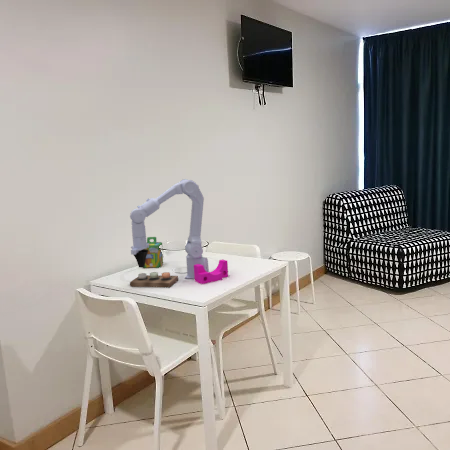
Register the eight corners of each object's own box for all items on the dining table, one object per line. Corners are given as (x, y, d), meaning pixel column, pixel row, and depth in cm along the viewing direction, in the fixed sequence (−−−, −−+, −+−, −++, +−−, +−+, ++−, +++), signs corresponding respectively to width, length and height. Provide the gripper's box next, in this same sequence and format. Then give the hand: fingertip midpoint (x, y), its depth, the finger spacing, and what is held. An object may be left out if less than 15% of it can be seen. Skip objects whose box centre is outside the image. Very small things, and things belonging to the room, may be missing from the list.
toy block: (201, 284, 189) (200, 267, 188) (194, 281, 194) (193, 265, 193) (231, 278, 197) (230, 261, 195) (223, 275, 202) (223, 259, 201)
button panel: (178, 280, 197) (178, 275, 196) (169, 287, 186) (169, 282, 186) (140, 279, 201) (140, 274, 201) (130, 286, 190) (129, 281, 190)
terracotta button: (171, 275, 193) (171, 272, 193) (168, 278, 190) (168, 274, 189) (163, 275, 194) (163, 272, 194) (160, 278, 191) (160, 274, 190)
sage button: (159, 275, 194) (159, 272, 194) (156, 277, 191) (156, 274, 191) (151, 275, 195) (151, 272, 195) (148, 277, 192) (148, 274, 192)
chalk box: (142, 268, 221) (140, 239, 219) (146, 264, 230) (143, 236, 228) (160, 267, 221) (158, 238, 218) (163, 263, 230) (161, 235, 228)
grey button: (148, 276, 196) (147, 273, 196) (144, 279, 192) (144, 275, 192) (140, 276, 197) (140, 273, 196) (137, 278, 193) (136, 275, 193)
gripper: (137, 233, 200) (140, 262, 202) (123, 239, 186) (126, 271, 188) (152, 233, 198) (154, 262, 200) (138, 239, 184) (141, 271, 186)
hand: (141, 267), depth 194 cm, fingers closed
